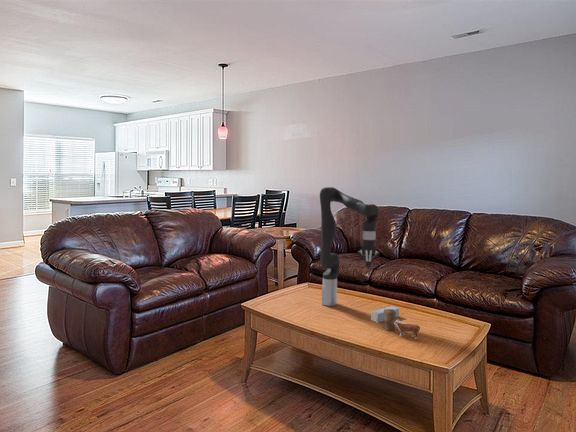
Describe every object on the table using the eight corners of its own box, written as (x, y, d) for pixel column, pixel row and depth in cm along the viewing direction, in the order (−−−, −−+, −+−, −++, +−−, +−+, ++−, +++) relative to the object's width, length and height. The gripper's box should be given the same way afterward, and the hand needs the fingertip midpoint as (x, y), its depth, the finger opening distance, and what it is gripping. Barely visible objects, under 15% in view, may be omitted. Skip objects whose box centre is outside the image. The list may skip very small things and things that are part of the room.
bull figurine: (394, 332, 221) (394, 317, 220) (420, 338, 214) (420, 322, 213) (391, 335, 217) (392, 320, 216) (418, 340, 210) (418, 325, 209)
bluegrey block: (377, 314, 235) (399, 308, 246) (371, 311, 240) (392, 306, 250) (377, 322, 236) (398, 316, 246) (370, 319, 240) (392, 314, 250)
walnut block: (386, 330, 224) (386, 312, 223) (383, 326, 229) (383, 309, 228) (395, 330, 225) (395, 312, 224) (392, 326, 230) (392, 309, 229)
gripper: (380, 237, 246) (379, 266, 248) (357, 237, 249) (357, 265, 251) (380, 239, 239) (379, 269, 241) (357, 239, 241) (356, 268, 243)
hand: (368, 267), depth 246 cm, fingers closed
